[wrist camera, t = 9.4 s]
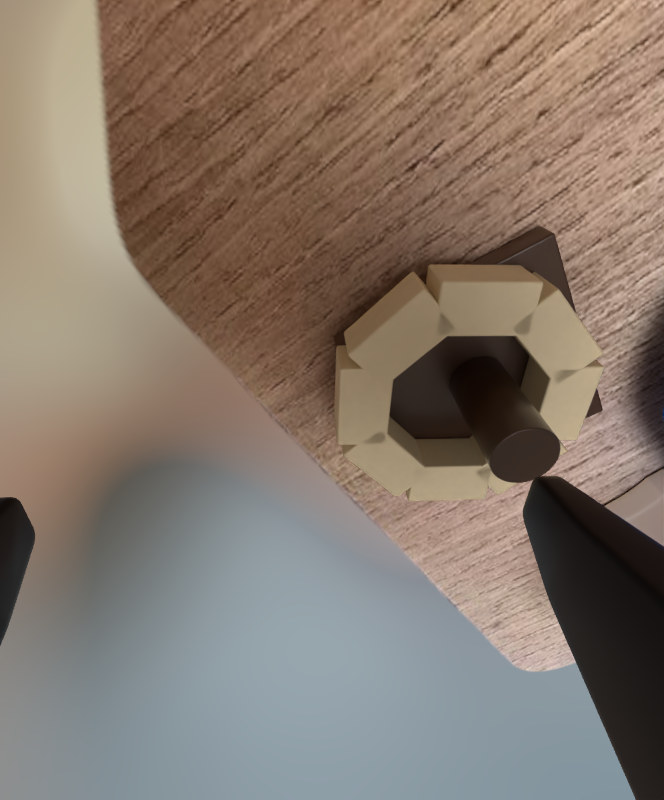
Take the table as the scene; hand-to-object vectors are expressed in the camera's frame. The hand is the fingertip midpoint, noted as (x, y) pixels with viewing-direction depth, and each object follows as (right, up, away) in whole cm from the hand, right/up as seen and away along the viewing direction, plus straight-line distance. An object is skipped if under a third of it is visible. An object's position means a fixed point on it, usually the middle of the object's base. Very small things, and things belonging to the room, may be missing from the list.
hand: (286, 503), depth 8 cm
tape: (+6, +3, +12) cm, 13 cm away
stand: (+7, +3, +13) cm, 15 cm away
